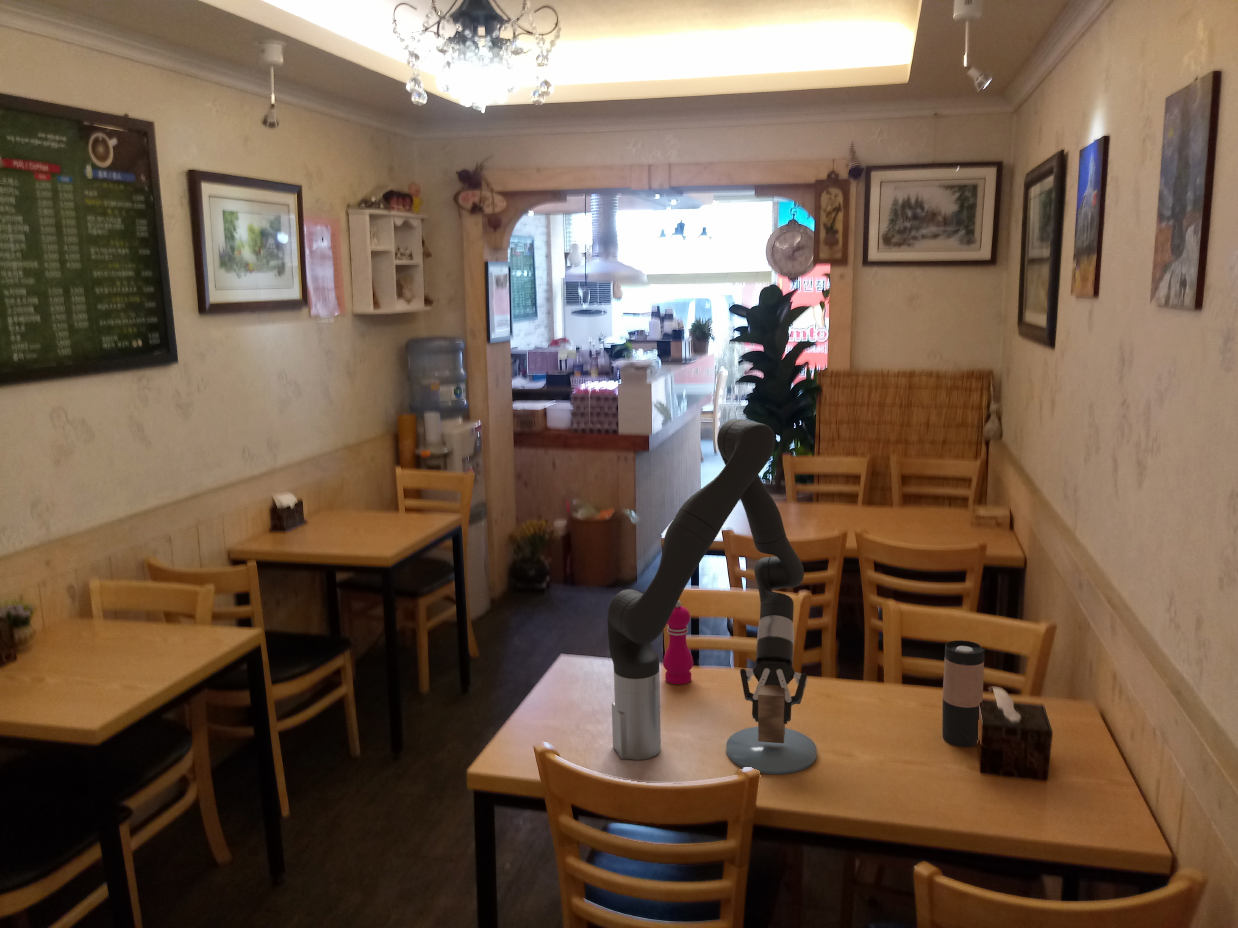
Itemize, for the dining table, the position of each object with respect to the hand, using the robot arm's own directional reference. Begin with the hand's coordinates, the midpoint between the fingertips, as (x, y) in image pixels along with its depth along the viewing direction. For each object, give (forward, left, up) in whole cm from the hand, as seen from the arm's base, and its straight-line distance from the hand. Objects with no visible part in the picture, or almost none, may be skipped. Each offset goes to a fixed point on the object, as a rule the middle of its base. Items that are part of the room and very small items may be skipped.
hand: (771, 721), depth 185 cm
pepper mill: (-4, +41, -8) cm, 42 cm away
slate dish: (+1, +1, -7) cm, 8 cm away
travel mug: (+40, -7, -8) cm, 41 cm away
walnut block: (+1, +2, -4) cm, 5 cm away
